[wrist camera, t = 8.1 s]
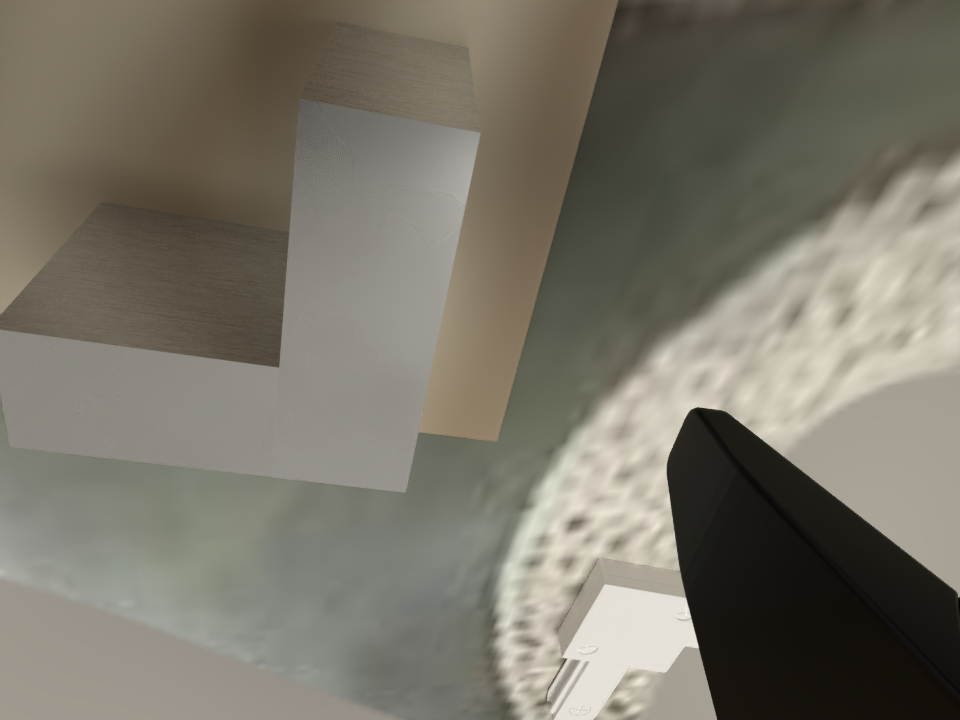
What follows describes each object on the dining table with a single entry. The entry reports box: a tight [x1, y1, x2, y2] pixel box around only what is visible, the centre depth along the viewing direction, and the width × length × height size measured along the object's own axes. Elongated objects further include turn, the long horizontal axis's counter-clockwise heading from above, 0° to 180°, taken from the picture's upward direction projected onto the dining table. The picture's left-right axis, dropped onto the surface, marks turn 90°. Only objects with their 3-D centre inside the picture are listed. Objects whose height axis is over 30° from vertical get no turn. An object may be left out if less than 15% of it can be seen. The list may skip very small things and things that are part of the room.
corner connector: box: [547, 558, 699, 720], centre depth 27 cm, size 8×8×2 cm
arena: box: [0, 0, 618, 442], centre depth 15 cm, size 14×14×3 cm
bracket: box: [0, 22, 481, 493], centre depth 14 cm, size 7×7×5 cm
